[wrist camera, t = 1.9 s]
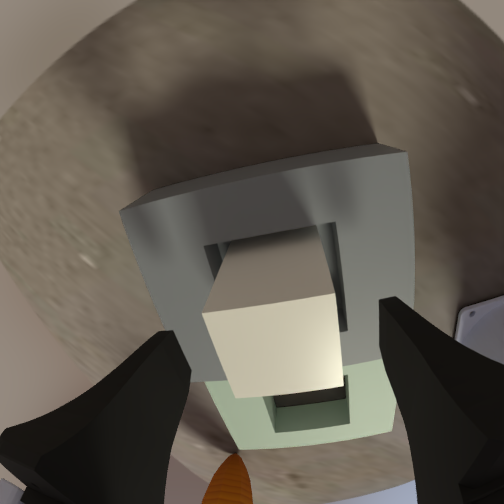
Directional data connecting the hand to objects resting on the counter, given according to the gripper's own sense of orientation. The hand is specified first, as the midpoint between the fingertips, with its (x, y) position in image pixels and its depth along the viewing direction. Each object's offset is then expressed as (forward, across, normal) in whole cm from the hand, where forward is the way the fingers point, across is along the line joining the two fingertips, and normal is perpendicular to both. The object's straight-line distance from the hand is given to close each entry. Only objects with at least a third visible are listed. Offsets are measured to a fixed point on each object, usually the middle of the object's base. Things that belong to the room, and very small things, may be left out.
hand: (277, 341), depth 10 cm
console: (+7, 0, +5) cm, 9 cm away
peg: (+5, 0, 0) cm, 5 cm away
